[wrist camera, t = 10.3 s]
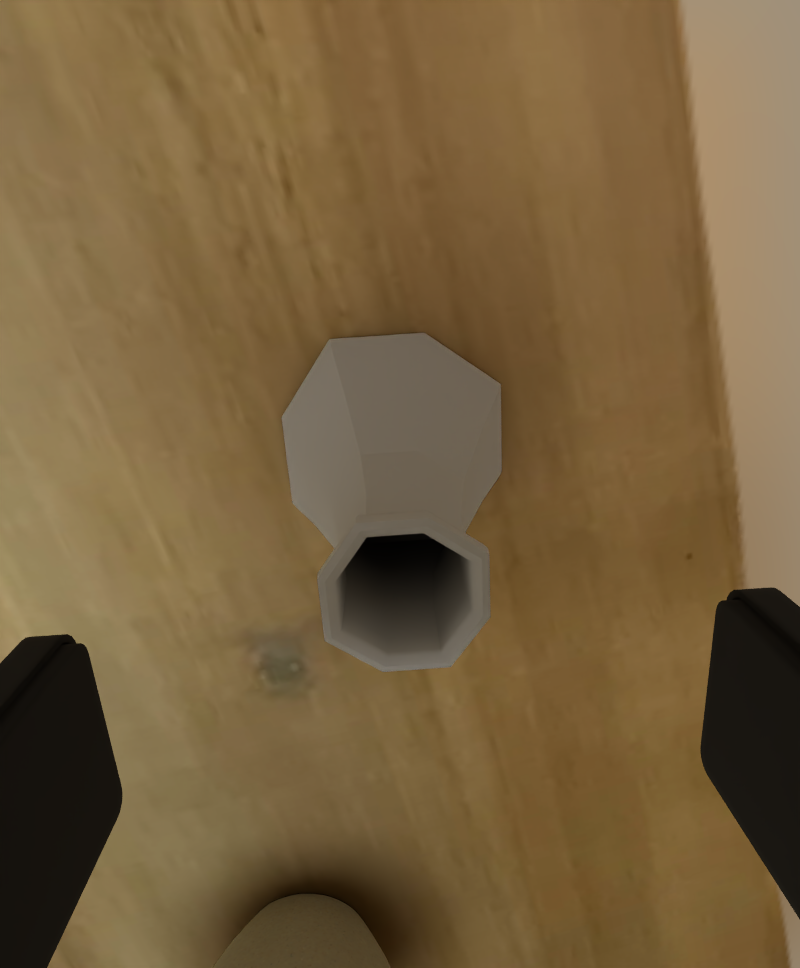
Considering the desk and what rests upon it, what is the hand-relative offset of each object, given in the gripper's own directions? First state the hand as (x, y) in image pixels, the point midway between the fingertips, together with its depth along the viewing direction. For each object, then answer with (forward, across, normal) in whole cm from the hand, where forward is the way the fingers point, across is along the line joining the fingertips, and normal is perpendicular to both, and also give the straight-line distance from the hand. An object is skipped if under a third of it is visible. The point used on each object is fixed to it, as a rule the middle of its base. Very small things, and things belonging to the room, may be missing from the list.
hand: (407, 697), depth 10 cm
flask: (+12, 0, -1) cm, 12 cm away
